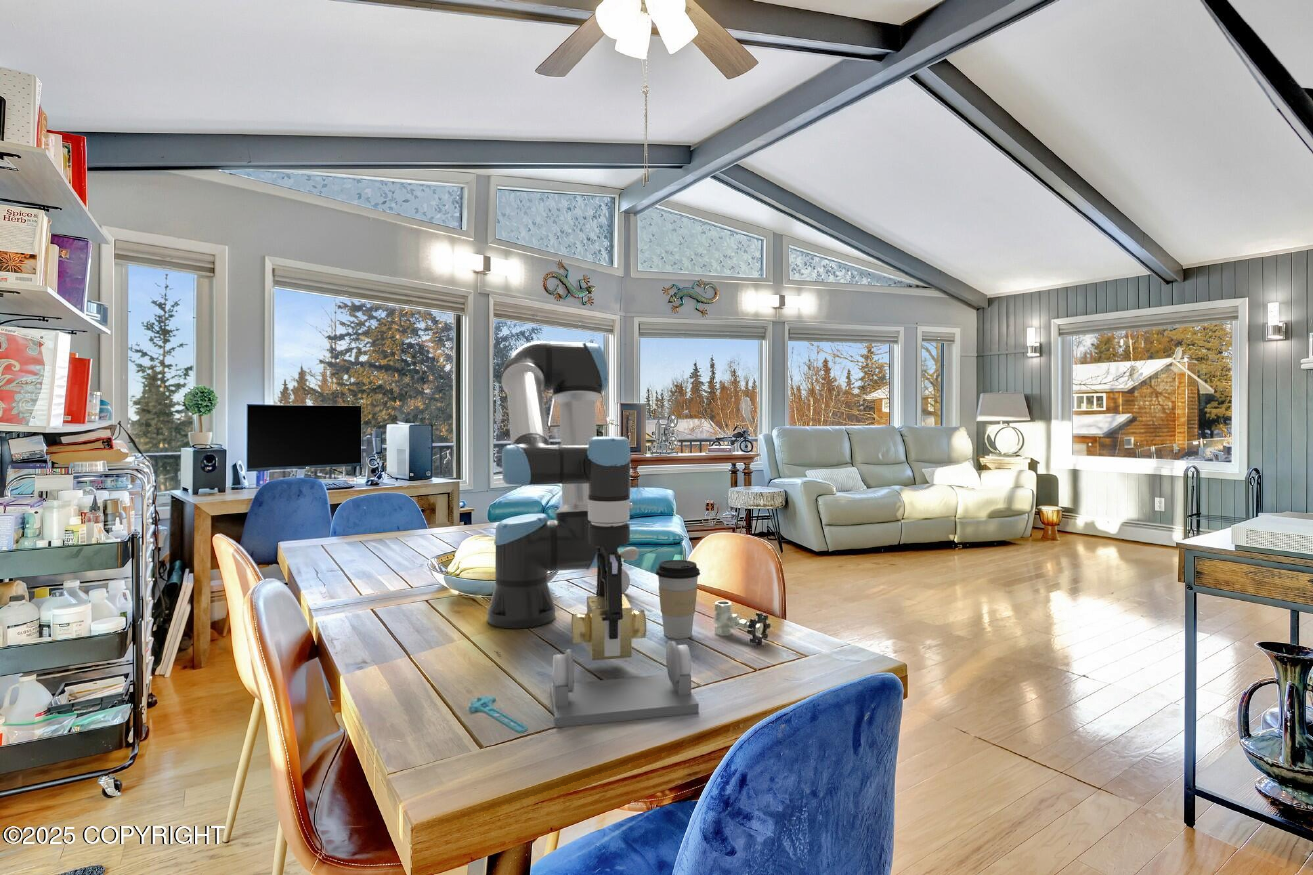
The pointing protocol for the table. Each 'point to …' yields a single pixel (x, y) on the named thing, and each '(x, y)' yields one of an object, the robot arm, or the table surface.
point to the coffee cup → (677, 596)
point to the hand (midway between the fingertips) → (608, 645)
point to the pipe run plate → (622, 693)
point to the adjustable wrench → (495, 713)
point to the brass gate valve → (593, 627)
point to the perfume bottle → (626, 554)
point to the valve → (739, 622)
